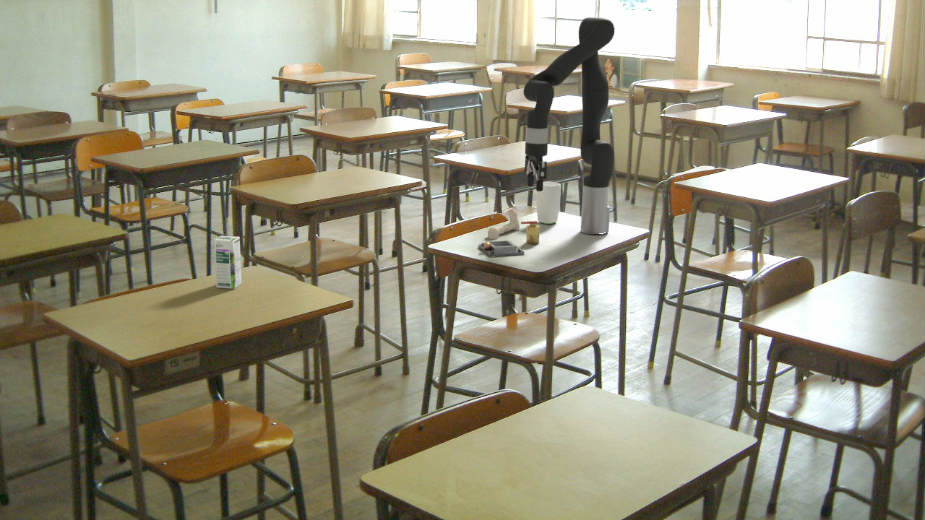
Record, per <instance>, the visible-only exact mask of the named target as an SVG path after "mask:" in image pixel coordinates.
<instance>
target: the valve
mask: <svg viewBox="0 0 925 520" xmlns="http://www.w3.org/2000/svg"><path fill="white" fill-rule="evenodd" d="M520 224H521V225H527V226H526V239H525V243H526V244H527V245H529V246H530V245H532V246H536V245H539V244H540V231H541V230H540V228H541V226H540V225H538V220H530V221H528V220H527V221H520Z"/></svg>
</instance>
